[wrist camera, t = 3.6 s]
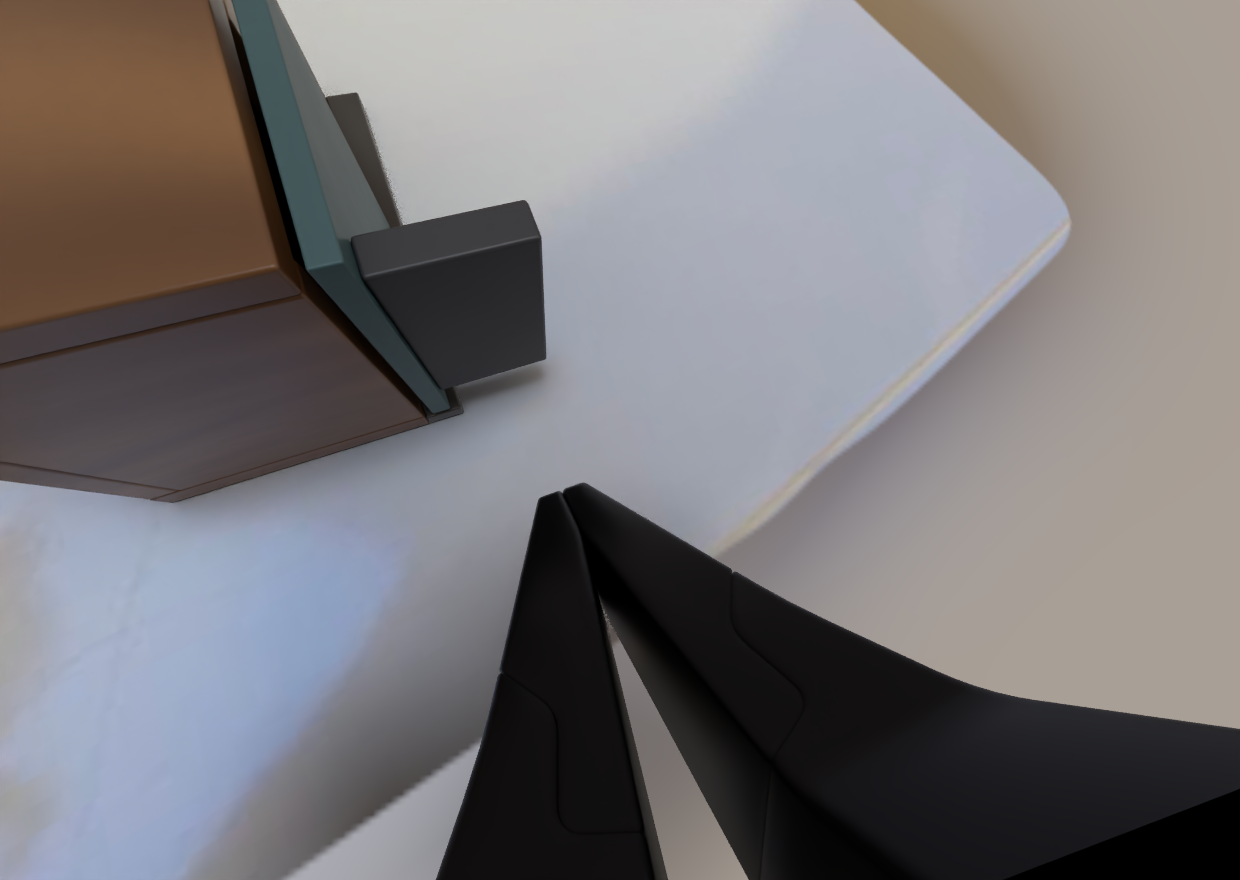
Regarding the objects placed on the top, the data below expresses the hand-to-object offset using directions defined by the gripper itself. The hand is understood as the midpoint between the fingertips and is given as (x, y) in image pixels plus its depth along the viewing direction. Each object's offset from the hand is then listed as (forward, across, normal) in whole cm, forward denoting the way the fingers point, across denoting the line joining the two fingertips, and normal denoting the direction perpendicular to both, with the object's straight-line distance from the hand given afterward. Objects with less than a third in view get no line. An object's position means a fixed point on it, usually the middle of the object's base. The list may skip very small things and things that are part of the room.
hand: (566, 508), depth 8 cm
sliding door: (+11, +1, -1) cm, 11 cm away
